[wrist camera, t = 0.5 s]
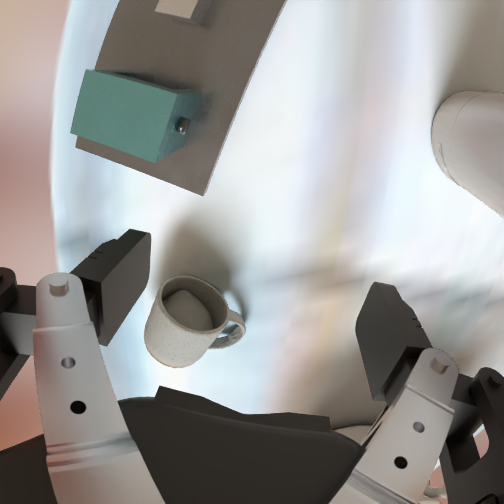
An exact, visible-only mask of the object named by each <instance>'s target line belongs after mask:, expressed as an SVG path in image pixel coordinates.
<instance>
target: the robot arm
mask: <svg viewBox="0 0 504 504" xmlns="http://www.w3.org/2000/svg"><path fill="white" fill-rule="evenodd" d="M431 133H432V147H433V153H434V155H435V158H436V161H437V163H438V165H439V166H440V168H441V170H442V171H443V172H444V173H445V174H446V175H447V177H448V178H450V179H451V180H453V181H454V182H455V183H456V184H457V185H459V186H461V187H463V188H464V189H466V190H467V191H468V192H470V193H471V194H472V195H474V196H475V197H476V198H478V199H479V200H480V201H482V202H483V203H484V204H486V205H487V206H488V207H490V208H491V209H492V210H494V211H495V212H496V213H498V214H499V215H500V216H501V217H503V218H504V93H503V92H495V91H488V92H486V93H485V92H476V91H461V92H458V93H455V94H453V95H451V96H450V97H448V98H447V99H446V100H445V101H444V102H443V103H442V104H441V106H440V107H439V109H438V111H437V112H436V115H435V118H434V121H433V126H432V132H431ZM150 252H151V234H150V233H147V232H143V231H138V230H134V229H129V230H128V231H127V232H125V233H124V234H123V235H122V236H121V237H120V238H119V239H118V240H117V239H112V240H110V241H107V242H105V243H102V244H101V245H100V246H99V247H98V248H97V249H96V250H95V251H94V252H92V253H91V254H90V255H89V256H88V257H87V258H85V259H84V260H83V261H82V262H81V263H80V264H79V265H78V266H77V267H76V268H75V269H73V270H72V271H71V272H70V273H54V274H50V275H48V276H45V277H44V278H42V279H41V280H40V281H39V282H38V284H37V286H27V285H26V286H25V285H17V281H16V276H15V273H14V272H13V271H12V270H11V269H8V268H4V267H0V400H1V399H2V397H3V396H4V394H5V392H6V391H7V389H8V388H9V386H10V385H11V383H12V381H13V380H14V379H15V377H16V376H17V374H18V373H19V371H20V370H21V368H22V367H23V365H24V364H25V362H26V361H27V360H28V358H29V357H30V355H33V356H34V367H35V377H36V386H37V394H38V401H39V409H40V415H41V420H42V426H43V432H44V434H41V435H39V436H37V437H34V438H32V439H30V440H27V441H24V442H22V443H20V444H17V445H15V446H12V447H10V448H7V449H4V450H2V451H0V504H420V503H419V501H420V499H421V497H422V495H423V492H424V490H425V488H426V486H427V484H428V482H429V479H430V477H431V475H432V473H433V470H434V468H435V465H436V463H437V460H438V458H439V460H440V464H441V468H442V473H443V478H444V483H445V488H446V493H447V498H448V504H504V377H503V376H502V375H501V374H500V373H499V372H497V371H496V370H494V369H491V368H488V367H484V368H481V369H480V370H479V371H478V373H477V374H476V376H475V377H474V378H471V377H468V376H465V375H462V374H460V373H459V369H458V366H457V364H456V362H455V361H454V360H453V359H452V358H451V357H450V356H449V355H448V354H446V353H445V352H443V351H441V350H438V349H434V348H433V347H432V345H431V343H430V341H429V339H428V337H427V335H426V334H425V332H424V330H423V328H421V327H422V326H421V324H420V322H419V321H418V320H417V319H418V318H417V317H416V315H415V313H414V311H413V309H412V308H411V307H410V306H409V305H407V304H406V303H405V302H404V301H403V300H402V298H401V297H400V295H399V293H398V291H397V289H396V287H395V286H394V285H389V284H384V283H379V282H374V283H373V284H372V286H371V287H370V290H369V292H368V294H367V297H366V299H365V302H364V304H363V306H362V308H361V311H360V313H359V315H358V318H357V321H356V328H355V331H356V336H357V340H358V343H359V347H360V351H361V355H362V359H363V362H364V366H365V370H366V374H367V378H368V382H369V387H370V391H371V395H372V399H373V400H378V401H386V402H387V405H386V406H385V408H384V409H383V410H382V412H381V413H380V415H379V416H378V418H377V419H376V421H375V422H374V424H373V425H372V427H371V428H370V430H369V431H368V433H367V434H366V436H365V437H364V438H363V440H362V441H361V443H360V444H359V443H357V442H356V441H354V440H353V439H351V438H349V437H347V436H345V435H343V434H341V433H339V432H336V431H334V430H331V429H330V419H329V417H325V416H315V415H306V414H298V413H290V412H287V413H272V414H242V413H239V412H237V411H234V410H232V409H229V408H227V407H225V406H222V405H220V404H218V403H215V402H213V401H211V400H209V399H206V398H204V397H202V396H198V395H194V394H190V393H186V392H182V391H178V390H174V389H170V388H167V387H163V386H159V388H158V391H157V393H156V396H155V397H135V398H128V399H123V400H119V401H117V399H116V396H115V393H114V391H113V388H112V385H111V382H110V379H109V376H108V373H107V369H106V366H105V363H104V360H103V357H102V353H101V350H100V346H99V344H101V345H103V346H106V347H107V346H108V344H109V343H110V341H111V339H112V338H113V336H114V335H115V333H116V332H117V330H118V329H119V327H120V325H121V324H122V322H123V321H124V319H125V318H126V316H127V315H128V313H129V312H130V310H131V309H132V307H133V306H134V304H135V303H136V301H137V300H138V298H139V297H140V295H141V294H142V292H143V291H144V289H145V288H146V285H147V283H148V279H149V272H150ZM482 424H484V427H485V430H486V432H487V435H488V438H489V448H488V450H487V452H486V454H485V455H484V456H483V457H482V458H481V459H480V456H479V453H478V450H477V447H476V444H475V441H474V437H473V434H474V433H475V431H476V430H477V429H478V428H479V427H480V426H481V425H482Z"/></svg>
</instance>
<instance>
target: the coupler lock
mask: <svg viewBox="0 0 504 504" xmlns="http://www.w3.org/2000/svg"><path fill="white" fill-rule="evenodd" d="M133 75H134V73H132V72H128V71H124V70H86V71H85V74H84V78H83V81H82V85H81V89H80V93H79V96H78V100H77V105H76V109H75V113H74V118H73V122H72V127H71V132H70V133H72V134H75V135H78V136H81V137H84V138H87V139H89V140H92V141H95V142H98V143H101V144H104V145H107V146H109V147H112V148H115V149H118V150H120V151H123V152H126V153H129V154H131V155H134V156H137V157H140V158H142V159H145V160H148V161H150V162H153V163H156V162H158V161H159V160H161V159H163V158H164V157H166V156H168V155H170V154H171V153H173V152H175V151H176V150H178V149H180V148H182V145H183V142H184V139H185V136H186V134H187V131H188V128H189V125H190V122H191V119H192V117H193V114H194V111H195V109H196V106H197V103H198V101H199V98H200V95H201V93H200V92H197V91H194V90H190V89H170V88H167V87H164V86H160V85H157V84H153V83H150V82H146V81H143V80H139V79H135V78H133Z"/></svg>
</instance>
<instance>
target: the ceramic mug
mask: <svg viewBox="0 0 504 504" xmlns="http://www.w3.org/2000/svg"><path fill="white" fill-rule="evenodd" d="M228 321H231V322H233V323H235V324H237V325H238V326H237V327H236V328H235V329H234V330H233V331H232V333H230V334H229V335H227V336H225V337H221V338H217V337H218V336H219V334H220V333H221V332H222V331H223V330H224V328H225V327H226V325H227V323H228ZM245 332H246V328H245V325H244V321H243V319H242V317H241V315H240V314H238V313H237V312H234V311H232V310H229V307H228V304H227V302H226V300H225V299H224V297H223V296H222V295H221V293H220V292H219V291H218V290H217V289H216V288H214V287H213V286H212V285H210V284H209V283H207V282H205V281H203V280H201V279H199V278H196V277H192V276H186V275H179V276H174V277H171V278H169V279H168V280H166V281H165V282H164V283H163V284H162V285H161V287H160V288H159V291H158V293H157V296H156V299H155V301H154V303H153V306H152V309H151V312H150V315H149V317H148V320H147V322H146V325H145V330H144V341H145V344H146V348H147V350H148V351H149V353H150V354H151V355H152V356H153V357H154V358H155V359H156V360H157V361H158V362H160V363H162V364H164V365H166V366H169V367H173V368H183V367H187V366H190V365H192V364H193V363H195V362H196V361H197V360H199V359H200V358H201V357H202V356H203V354H204V353H205V352H206V350H207V349H222V348H226V347H229V346H231V345H233V344H235V343H237V342H238V341H239V340H240V339H241V338H242V337H243V336H244V334H245Z"/></svg>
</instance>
